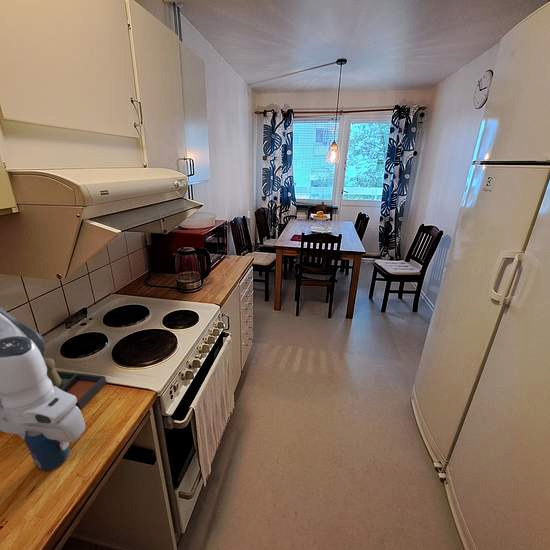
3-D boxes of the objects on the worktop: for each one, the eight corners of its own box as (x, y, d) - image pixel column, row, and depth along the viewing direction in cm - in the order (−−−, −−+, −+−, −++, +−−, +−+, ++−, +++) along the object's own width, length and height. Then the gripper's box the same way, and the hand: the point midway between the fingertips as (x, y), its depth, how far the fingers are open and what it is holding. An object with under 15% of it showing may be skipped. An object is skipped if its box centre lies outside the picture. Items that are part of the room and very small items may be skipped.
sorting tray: (22, 402, 88) (19, 394, 87) (54, 376, 99) (51, 369, 98) (81, 410, 86) (78, 402, 85) (107, 383, 97) (105, 376, 96)
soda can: (76, 445, 76) (64, 411, 71) (62, 471, 69) (48, 436, 65) (47, 448, 75) (33, 414, 70) (30, 475, 68) (14, 440, 64)
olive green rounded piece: (37, 397, 90) (26, 369, 86) (45, 383, 95) (36, 356, 91) (59, 393, 91) (49, 365, 87) (66, 380, 97) (58, 353, 92)
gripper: (-23, 408, 63) (-1, 451, 68) (60, 419, 61) (76, 463, 66) (6, 387, 69) (24, 428, 74) (82, 397, 67) (95, 439, 72)
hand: (49, 445), depth 70 cm, fingers closed on soda can, 7 cm apart
